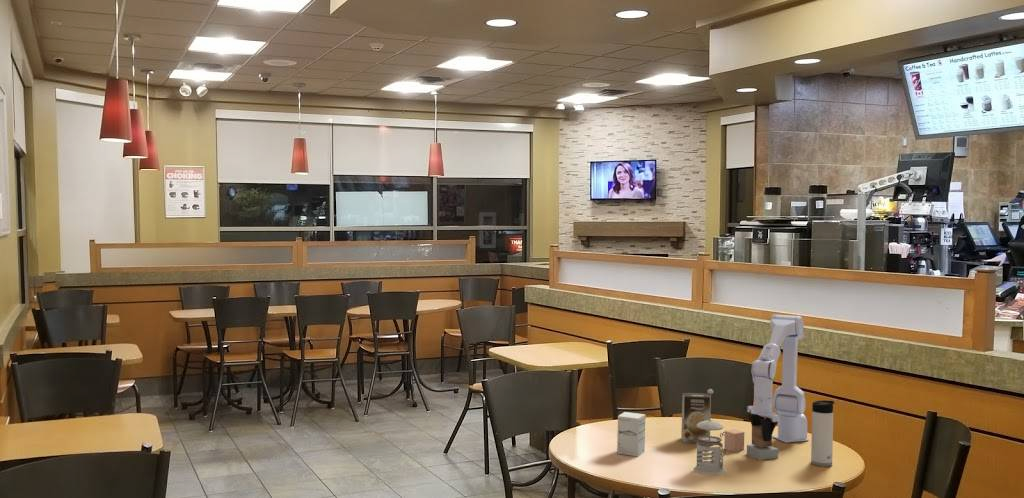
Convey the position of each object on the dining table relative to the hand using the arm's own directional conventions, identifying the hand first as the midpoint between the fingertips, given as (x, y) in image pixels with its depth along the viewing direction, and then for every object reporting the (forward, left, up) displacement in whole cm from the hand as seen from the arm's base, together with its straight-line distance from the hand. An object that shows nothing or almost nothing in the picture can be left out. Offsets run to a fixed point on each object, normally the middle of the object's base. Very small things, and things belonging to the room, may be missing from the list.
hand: (762, 438), depth 274 cm
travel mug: (-13, +13, -6) cm, 19 cm away
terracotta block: (+4, -10, -6) cm, 12 cm away
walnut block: (0, 0, -2) cm, 2 cm away
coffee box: (+11, -23, -6) cm, 26 cm away
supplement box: (+39, -16, -6) cm, 43 cm away
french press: (+24, +9, -6) cm, 26 cm away
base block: (0, 0, -6) cm, 6 cm away
